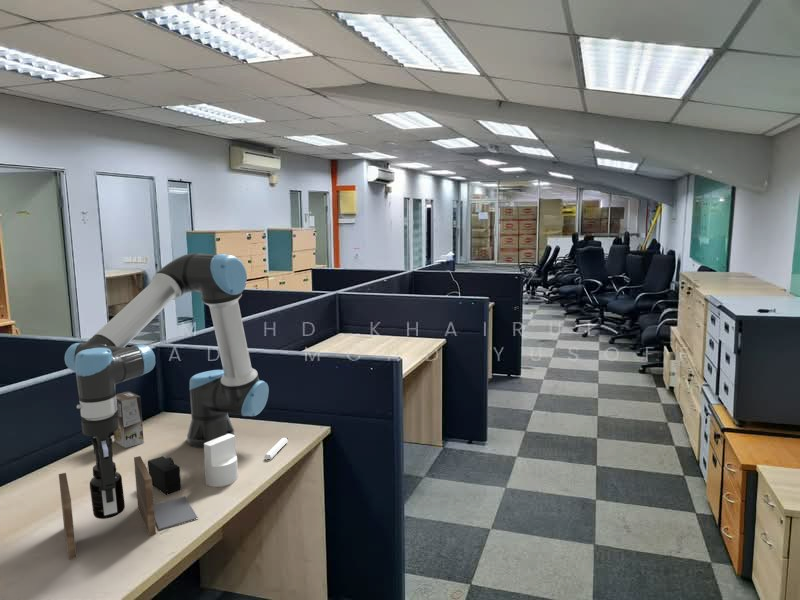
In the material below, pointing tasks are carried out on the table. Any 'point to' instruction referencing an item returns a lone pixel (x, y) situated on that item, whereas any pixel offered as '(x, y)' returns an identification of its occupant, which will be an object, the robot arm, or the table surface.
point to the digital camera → (165, 475)
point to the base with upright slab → (221, 461)
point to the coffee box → (129, 420)
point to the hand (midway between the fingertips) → (108, 506)
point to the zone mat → (173, 513)
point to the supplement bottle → (97, 495)
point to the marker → (276, 448)
